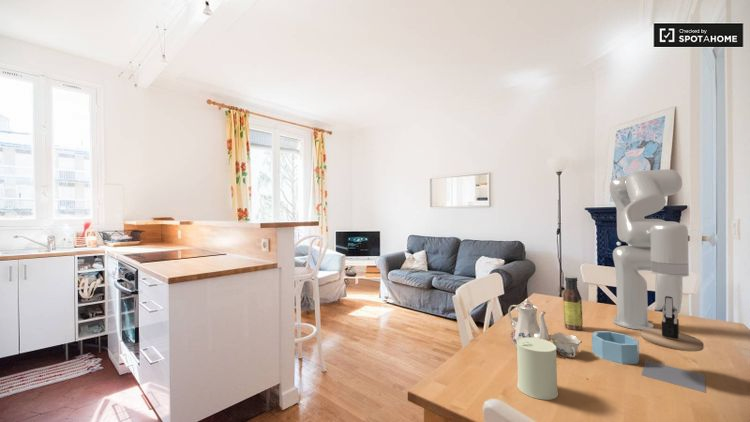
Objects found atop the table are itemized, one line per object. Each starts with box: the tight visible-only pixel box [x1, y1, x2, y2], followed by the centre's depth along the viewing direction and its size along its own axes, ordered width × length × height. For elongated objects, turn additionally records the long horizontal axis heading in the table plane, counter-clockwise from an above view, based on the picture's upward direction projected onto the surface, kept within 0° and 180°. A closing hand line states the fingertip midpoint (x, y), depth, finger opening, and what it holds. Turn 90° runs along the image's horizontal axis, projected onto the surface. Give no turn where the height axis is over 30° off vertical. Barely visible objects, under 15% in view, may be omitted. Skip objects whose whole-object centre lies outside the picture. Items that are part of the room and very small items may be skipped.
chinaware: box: [507, 298, 583, 358], centre depth 106 cm, size 28×17×17 cm, turn 23°
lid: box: [640, 318, 705, 353], centre depth 85 cm, size 12×12×6 cm
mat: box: [641, 360, 707, 393], centre depth 84 cm, size 12×12×1 cm
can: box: [516, 337, 559, 401], centre depth 79 cm, size 9×9×12 cm
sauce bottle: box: [562, 275, 584, 331], centre depth 122 cm, size 7×6×20 cm
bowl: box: [591, 330, 640, 365], centre depth 96 cm, size 11×11×6 cm
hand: (670, 334), depth 85 cm, fingers closed on lid, 3 cm apart
